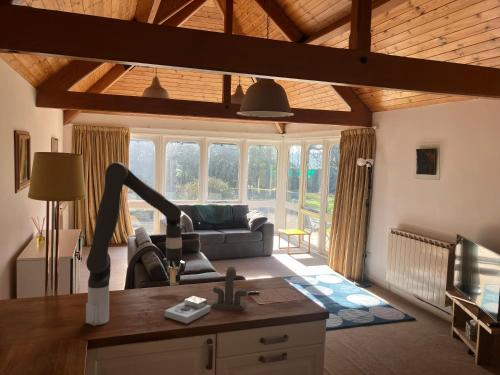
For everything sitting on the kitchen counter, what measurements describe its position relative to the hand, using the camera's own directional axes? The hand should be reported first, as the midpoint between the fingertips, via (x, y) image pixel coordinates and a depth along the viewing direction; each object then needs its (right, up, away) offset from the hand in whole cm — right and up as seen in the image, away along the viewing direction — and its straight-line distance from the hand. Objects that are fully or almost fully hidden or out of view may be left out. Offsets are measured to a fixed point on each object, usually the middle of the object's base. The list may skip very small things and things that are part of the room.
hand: (174, 281), depth 190 cm
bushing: (0, -2, 0) cm, 2 cm away
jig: (+6, -18, +6) cm, 20 cm away
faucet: (+26, -18, +22) cm, 38 cm away
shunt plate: (+9, -14, +11) cm, 20 cm away
